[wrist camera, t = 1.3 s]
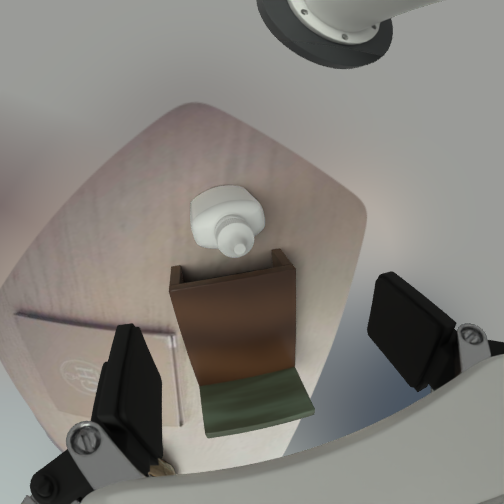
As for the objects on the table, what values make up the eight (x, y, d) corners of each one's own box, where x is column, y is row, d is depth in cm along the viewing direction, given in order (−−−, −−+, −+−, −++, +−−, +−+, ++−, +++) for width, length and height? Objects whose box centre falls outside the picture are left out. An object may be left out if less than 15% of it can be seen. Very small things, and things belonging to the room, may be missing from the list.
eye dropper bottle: (196, 175, 25) (201, 203, 15) (252, 188, 27) (294, 224, 16) (186, 217, 27) (185, 274, 16) (240, 228, 28) (272, 287, 18)
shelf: (171, 266, 28) (164, 342, 18) (280, 248, 30) (328, 309, 20) (198, 364, 35) (207, 438, 24) (283, 347, 37) (314, 414, 26)
